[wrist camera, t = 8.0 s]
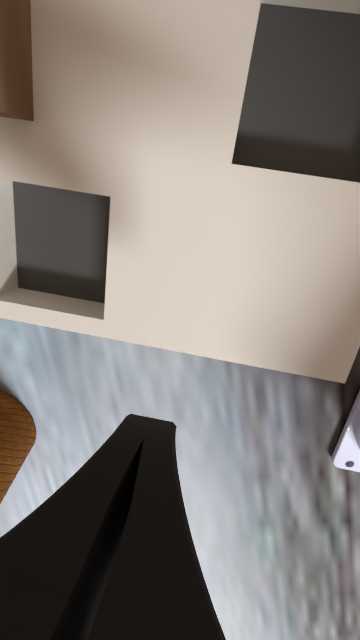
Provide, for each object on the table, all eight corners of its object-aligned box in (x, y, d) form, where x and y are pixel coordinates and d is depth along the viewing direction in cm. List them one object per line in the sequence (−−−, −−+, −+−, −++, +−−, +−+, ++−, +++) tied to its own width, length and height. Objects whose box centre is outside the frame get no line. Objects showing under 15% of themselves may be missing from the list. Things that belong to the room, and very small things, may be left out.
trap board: (463, -5, 13) (577, -97, 9) (330, 359, 19) (359, 408, 15) (-73, -61, 14) (-197, -163, 10) (-32, 291, 20) (-99, 318, 16)
